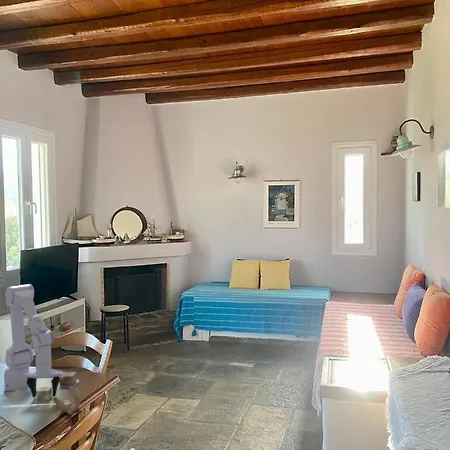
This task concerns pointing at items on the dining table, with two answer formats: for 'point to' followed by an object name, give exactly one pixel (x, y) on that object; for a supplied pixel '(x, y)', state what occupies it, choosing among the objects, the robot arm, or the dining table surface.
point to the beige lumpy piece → (67, 404)
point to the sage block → (44, 393)
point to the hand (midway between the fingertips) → (44, 396)
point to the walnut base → (68, 379)
